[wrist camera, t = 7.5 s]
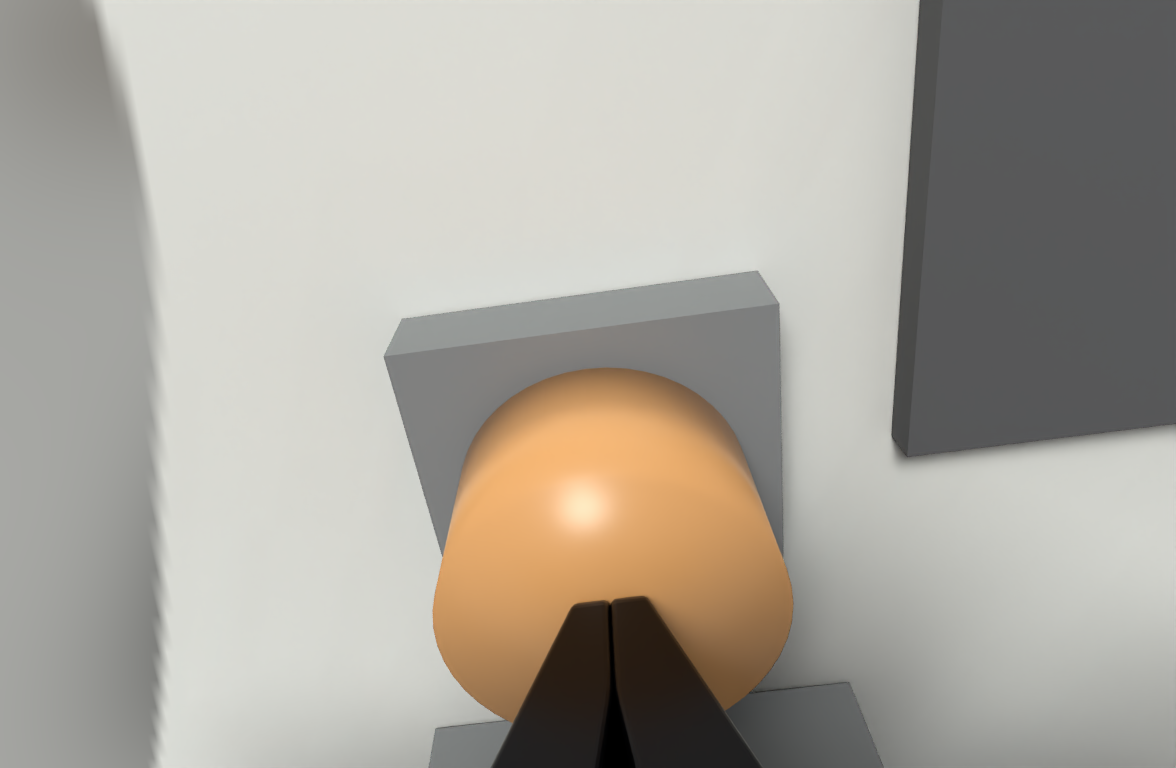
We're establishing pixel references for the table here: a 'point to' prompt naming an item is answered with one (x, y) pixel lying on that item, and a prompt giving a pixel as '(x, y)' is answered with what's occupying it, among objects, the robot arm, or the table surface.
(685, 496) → the plunger
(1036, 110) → the mat
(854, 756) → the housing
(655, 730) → the robot arm
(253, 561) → the table surface
